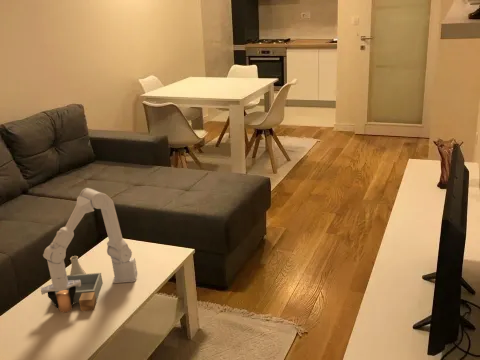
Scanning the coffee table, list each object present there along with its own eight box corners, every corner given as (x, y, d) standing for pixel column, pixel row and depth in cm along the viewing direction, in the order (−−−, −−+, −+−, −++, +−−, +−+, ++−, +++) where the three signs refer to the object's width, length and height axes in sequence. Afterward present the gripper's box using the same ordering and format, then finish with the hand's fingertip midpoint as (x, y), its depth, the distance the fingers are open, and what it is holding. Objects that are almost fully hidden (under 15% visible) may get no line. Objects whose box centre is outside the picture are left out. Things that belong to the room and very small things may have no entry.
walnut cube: (96, 302, 206) (94, 292, 204) (94, 310, 201) (92, 299, 200) (84, 303, 206) (81, 293, 204) (81, 311, 201) (78, 300, 199)
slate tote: (102, 283, 219) (100, 272, 217) (96, 301, 207) (94, 290, 205) (61, 286, 219) (58, 276, 217) (52, 304, 206) (49, 294, 204)
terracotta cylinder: (73, 304, 206) (70, 289, 203) (70, 311, 201) (67, 296, 199) (61, 305, 206) (57, 290, 203) (57, 313, 201) (54, 297, 198)
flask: (81, 283, 220) (77, 262, 217) (66, 282, 222) (61, 261, 218) (89, 274, 227) (85, 253, 223) (74, 273, 228) (70, 253, 225)
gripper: (78, 266, 203) (83, 295, 208) (38, 273, 199) (45, 303, 204) (78, 274, 197) (84, 305, 202) (38, 283, 193) (45, 313, 198)
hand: (65, 305), depth 203 cm, fingers closed on terracotta cylinder, 5 cm apart
